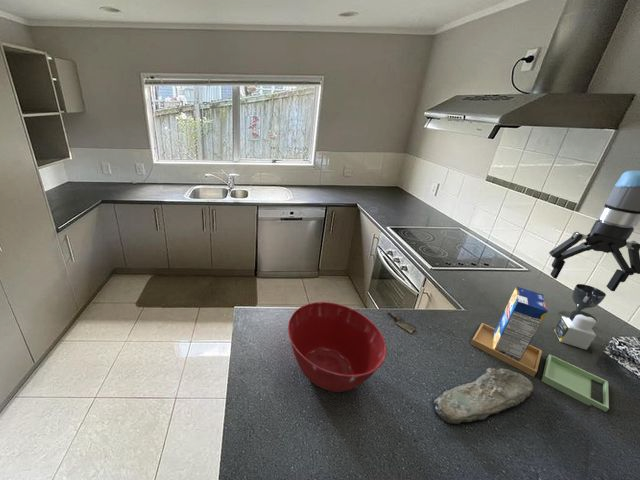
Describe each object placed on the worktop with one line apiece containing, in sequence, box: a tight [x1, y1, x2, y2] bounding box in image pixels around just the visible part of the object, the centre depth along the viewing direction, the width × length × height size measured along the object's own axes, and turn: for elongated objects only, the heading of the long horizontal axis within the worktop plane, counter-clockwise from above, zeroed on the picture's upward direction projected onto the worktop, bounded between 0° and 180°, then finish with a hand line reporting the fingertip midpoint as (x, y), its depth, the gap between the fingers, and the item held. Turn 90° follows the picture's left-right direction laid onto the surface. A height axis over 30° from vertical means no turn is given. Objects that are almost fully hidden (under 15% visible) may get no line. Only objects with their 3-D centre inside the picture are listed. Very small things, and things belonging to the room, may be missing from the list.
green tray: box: [541, 353, 610, 413], centre depth 87 cm, size 13×13×2 cm
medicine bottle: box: [553, 309, 598, 350], centre depth 102 cm, size 7×7×12 cm
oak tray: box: [470, 322, 543, 378], centre depth 99 cm, size 17×13×2 cm
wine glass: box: [559, 283, 607, 318], centre depth 112 cm, size 8×8×15 cm
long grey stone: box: [433, 367, 534, 425], centre depth 81 cm, size 35×5×10 cm
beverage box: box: [493, 286, 548, 361], centre depth 95 cm, size 7×11×22 cm, turn 141°
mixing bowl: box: [287, 301, 387, 393], centre depth 86 cm, size 28×28×16 cm
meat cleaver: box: [386, 310, 415, 334], centre depth 110 cm, size 12×1×5 cm
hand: (580, 282), depth 92 cm, fingers open, 13 cm apart
